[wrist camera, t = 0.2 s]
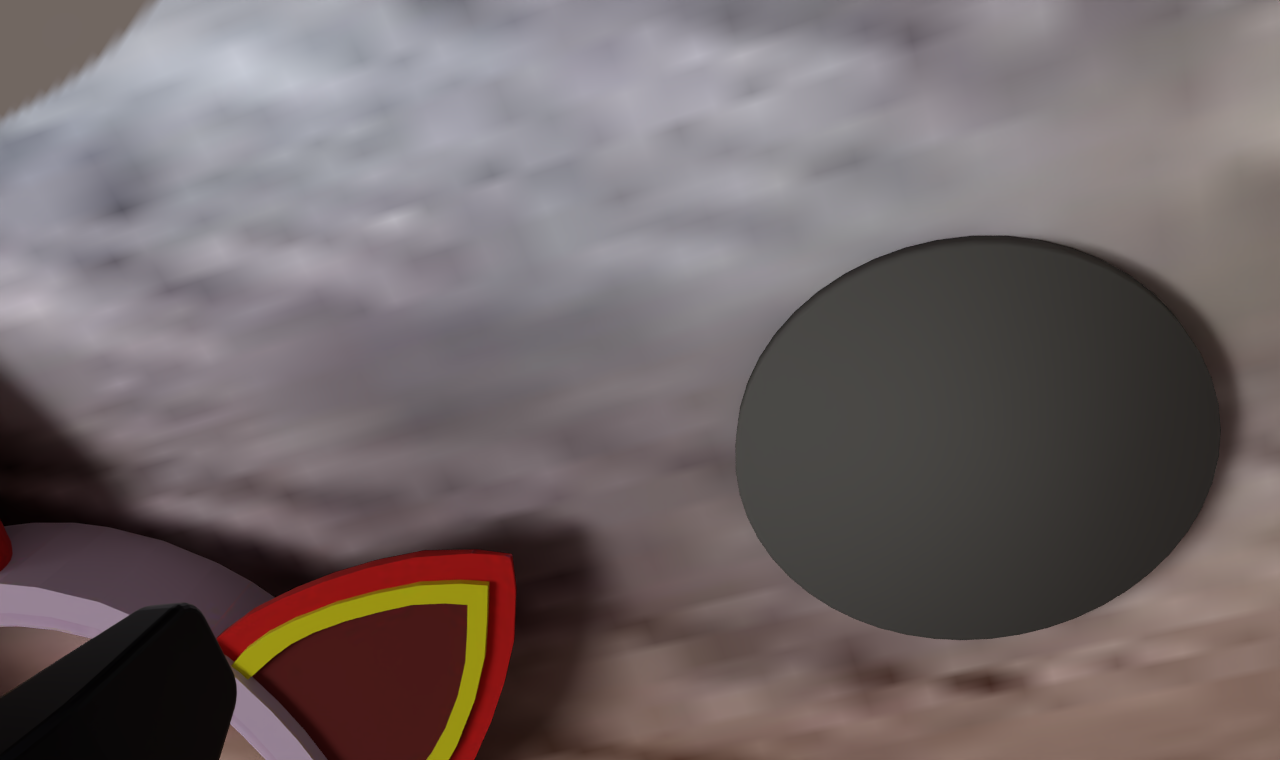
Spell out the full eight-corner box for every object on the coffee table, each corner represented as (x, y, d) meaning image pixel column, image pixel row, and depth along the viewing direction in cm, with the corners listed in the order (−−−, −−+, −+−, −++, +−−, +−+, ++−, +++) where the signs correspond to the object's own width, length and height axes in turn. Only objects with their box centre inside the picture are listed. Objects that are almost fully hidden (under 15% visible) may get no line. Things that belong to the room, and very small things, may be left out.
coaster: (1212, 598, 25) (1221, 616, 24) (781, 642, 27) (781, 658, 27) (1209, 191, 20) (1219, 202, 20) (692, 283, 23) (689, 296, 22)
